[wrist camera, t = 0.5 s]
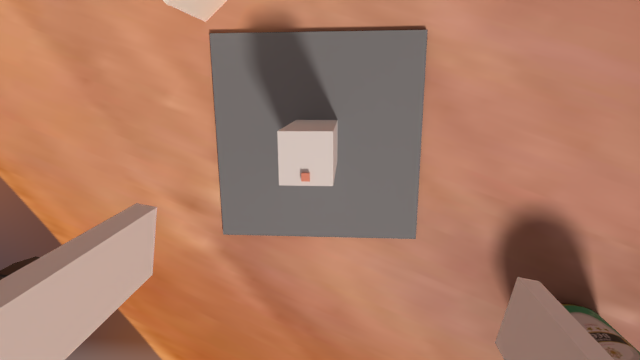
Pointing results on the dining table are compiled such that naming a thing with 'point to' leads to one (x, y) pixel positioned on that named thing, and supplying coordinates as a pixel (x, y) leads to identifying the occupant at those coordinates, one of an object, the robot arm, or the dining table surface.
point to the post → (319, 131)
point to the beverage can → (603, 333)
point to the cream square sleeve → (197, 7)
